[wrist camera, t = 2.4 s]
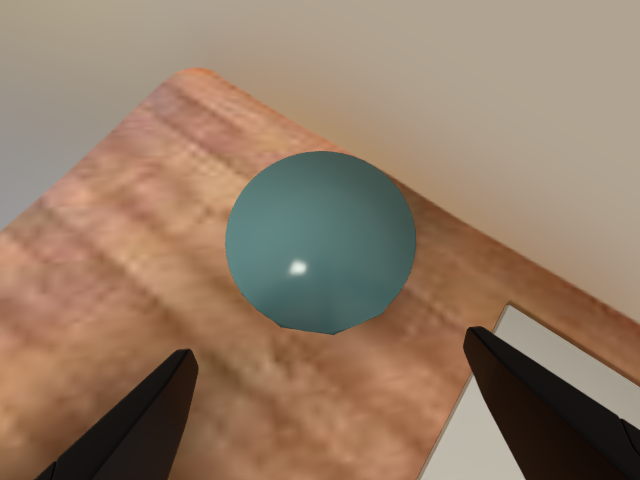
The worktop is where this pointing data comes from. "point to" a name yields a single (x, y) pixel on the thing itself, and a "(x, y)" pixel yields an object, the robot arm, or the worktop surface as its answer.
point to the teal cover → (320, 242)
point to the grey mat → (482, 431)
